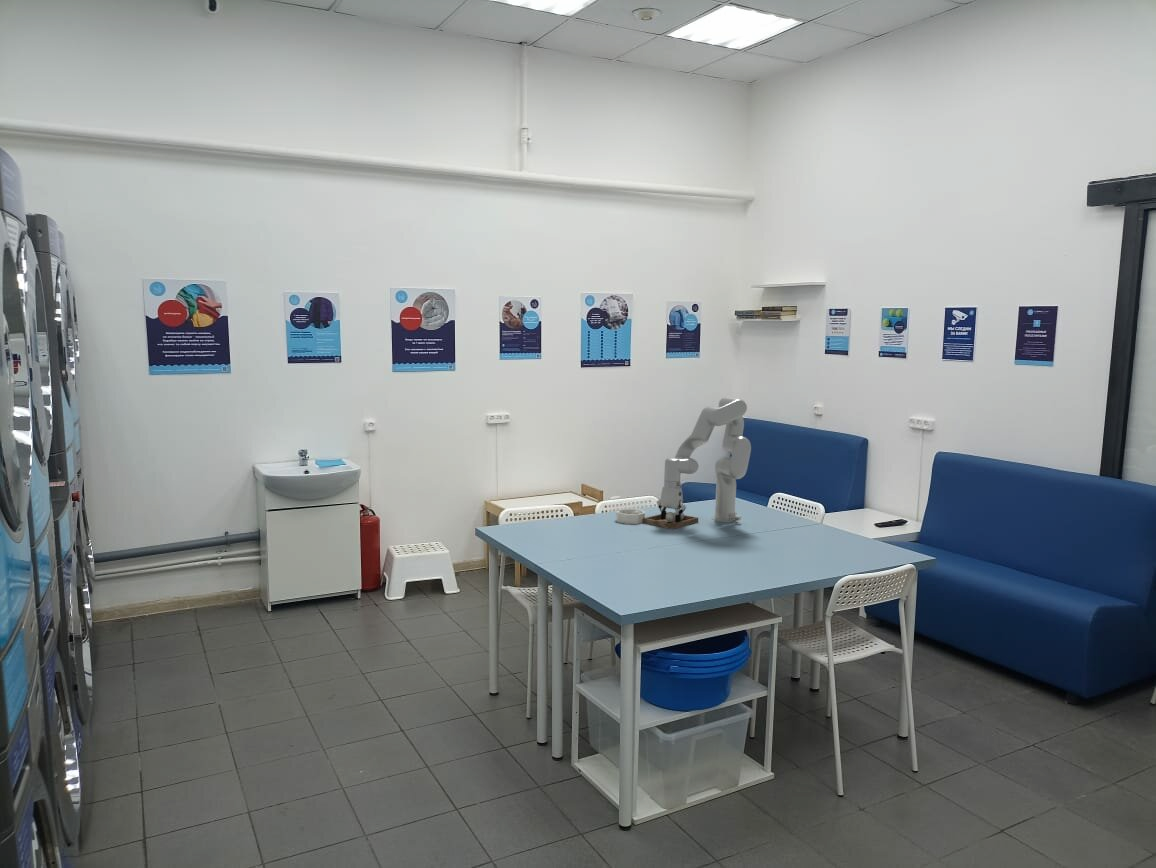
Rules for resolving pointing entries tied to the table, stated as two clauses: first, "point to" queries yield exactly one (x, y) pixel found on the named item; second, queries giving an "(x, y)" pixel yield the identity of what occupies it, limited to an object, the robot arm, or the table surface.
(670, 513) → the pebble
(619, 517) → the bowl
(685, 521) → the tray
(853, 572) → the table surface
